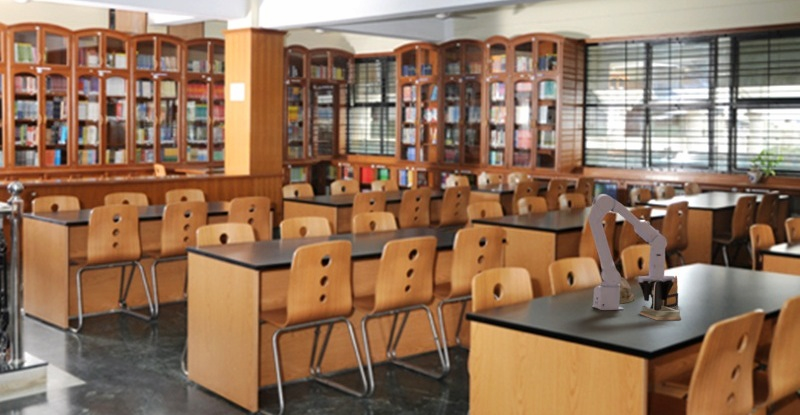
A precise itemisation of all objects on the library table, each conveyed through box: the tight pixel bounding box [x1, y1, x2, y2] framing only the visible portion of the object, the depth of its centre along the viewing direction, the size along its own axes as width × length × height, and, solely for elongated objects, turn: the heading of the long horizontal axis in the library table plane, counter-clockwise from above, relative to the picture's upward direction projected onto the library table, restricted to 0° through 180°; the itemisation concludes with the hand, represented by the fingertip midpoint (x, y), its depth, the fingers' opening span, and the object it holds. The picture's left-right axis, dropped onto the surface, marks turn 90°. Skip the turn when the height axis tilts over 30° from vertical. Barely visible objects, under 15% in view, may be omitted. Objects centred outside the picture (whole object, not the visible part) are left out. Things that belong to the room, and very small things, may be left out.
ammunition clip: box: [663, 275, 679, 308], centre depth 361 cm, size 11×2×12 cm, turn 136°
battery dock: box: [638, 306, 682, 321], centre depth 340 cm, size 10×12×3 cm
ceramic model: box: [619, 276, 636, 304], centre depth 373 cm, size 14×11×10 cm
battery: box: [648, 281, 664, 311], centre depth 352 cm, size 7×4×11 cm, turn 140°
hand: (655, 300), depth 352 cm, fingers open, 7 cm apart
